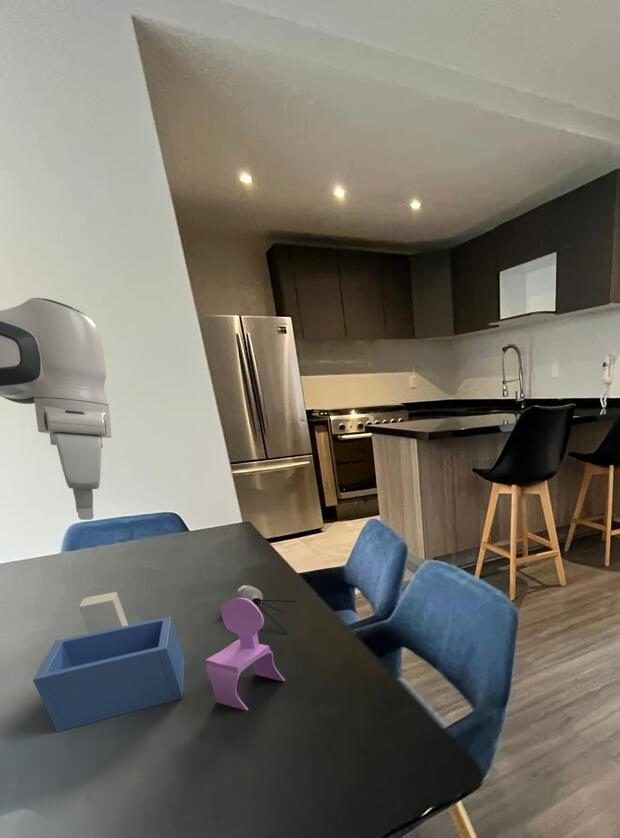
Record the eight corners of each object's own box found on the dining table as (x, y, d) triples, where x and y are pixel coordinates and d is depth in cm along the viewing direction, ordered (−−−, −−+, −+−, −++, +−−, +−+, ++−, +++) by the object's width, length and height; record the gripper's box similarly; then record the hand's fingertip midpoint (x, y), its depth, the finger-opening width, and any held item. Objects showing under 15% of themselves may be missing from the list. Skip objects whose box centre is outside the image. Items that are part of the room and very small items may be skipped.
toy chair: (209, 702, 75) (182, 615, 69) (251, 672, 82) (230, 590, 77) (249, 714, 72) (225, 623, 66) (290, 681, 79) (271, 597, 73)
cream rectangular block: (101, 664, 88) (78, 606, 83) (105, 654, 91) (83, 597, 87) (133, 657, 90) (112, 600, 85) (136, 646, 93) (116, 591, 89)
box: (57, 732, 71) (32, 679, 67) (75, 688, 81) (55, 640, 78) (182, 698, 77) (166, 648, 73) (185, 661, 87) (170, 615, 84)
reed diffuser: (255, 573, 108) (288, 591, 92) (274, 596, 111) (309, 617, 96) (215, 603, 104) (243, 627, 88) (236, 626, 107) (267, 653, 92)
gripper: (49, 424, 79) (59, 510, 82) (46, 416, 64) (59, 523, 67) (96, 428, 83) (104, 510, 86) (105, 421, 68) (114, 522, 70)
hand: (84, 516), depth 76 cm, fingers open, 8 cm apart
